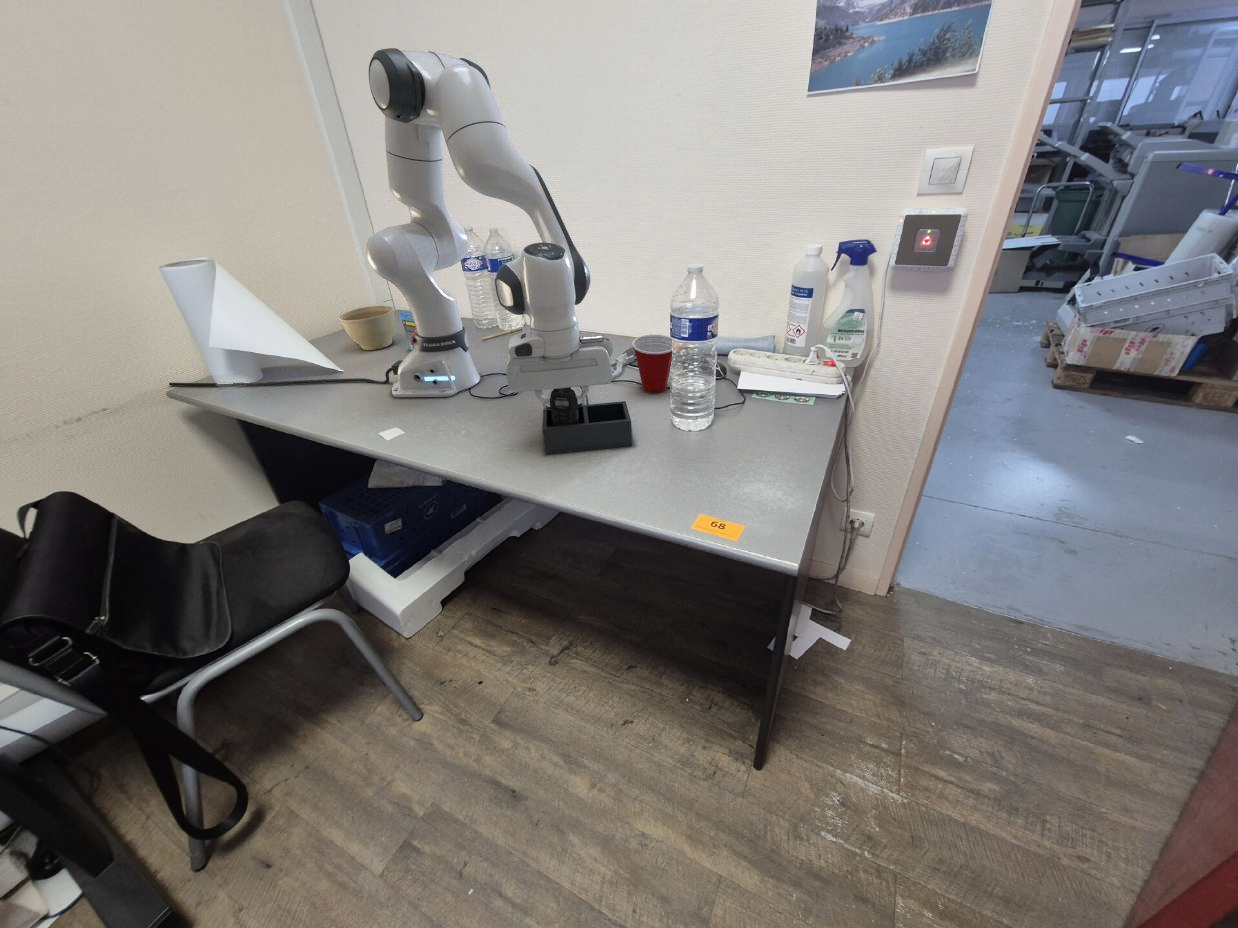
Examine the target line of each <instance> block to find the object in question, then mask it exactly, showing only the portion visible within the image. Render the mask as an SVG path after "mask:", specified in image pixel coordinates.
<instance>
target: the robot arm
mask: <svg viewBox="0 0 1238 928" xmlns="http://www.w3.org/2000/svg"><path fill="white" fill-rule="evenodd" d="M368 84H369V89H370V92H371V95H372V99H373V100H374V103H375V105H376V106H377V108H378V109H379V111H380V112H381V113H382V115H384V144H385V145H384V146H385V147H384V148H385V158H386V169H387V180H388V187H389V190H390V192H391V194H392V195H393V197H394V198H396V200H397V201H398V202H400V203H401V204H403V205H404V206H406V207H407V209H408V212H409V217H410V221H409V222H408V223H402V224H398V225H393V226H387V227H385V228H383V229H380V230H378V231H377V232H374V233H372V234H371V235H369V236H368V238H367V240H366V244H365V255H366V259H367V262H368V264H369V266H370V267H371V268H372V270H373V271H374V272H375V273H376V274H377V275H378V276H379V277H381V278H382V279H384V280H386V281H388V282H389V283H390V284H392V285H394V287H396V288H397V290H398V291H399V292H400V293H401V295H402V296H403V297H404V299H405V301H406V302H407V304H408V307H409V310H410V313H412V316H413V318H412V319H414V322H415V326H416V329H417V330H415V331H414V332H413V334H412V335H413V336H412V337H411V341H410V342H411V345H413V347H414V349H413V350H410V352H409V353H408V354H407V355H406V356H405V358H404V359H398V360H397V361H396V362H395V363H393V364H391V366H390V367H389V368H388V369H387V370H386V371H385V375H384V376H385V380H383V381H378V380H374V379H370V378H365V377H364V378H361V377H359V378H358V377H357V378H356V377H355V378H323V379H299V380H273V381H249V382H250V383H244V382H232V383H233V384H217V383H218V382H168V385H169V386H171V387H174V386H175V387H238V386H240V387H242V386H243V387H244V386H245V387H246V386H270V385H271V386H272V385H295V384H318V383H319V384H321V383H350V382H351V383H352V382H362V383H363V382H365V383H369V384H377V385H385V384H388V383H389V382H390V373H391V372H392V374H393V375H394V376H397V380H396V381H395V382H394V384H393V385H392V387H391V394H392V396H393V397H394V398H448V397H452V396H453V395H455V394H457V393H459V392H462V391H464V390H467V389H469V388H472V387H474V386H475V385H477V384H478V383H479V382H480V380H481V375H480V374H479V372H478V370H477V367H476V366H475V364H474V361H473V359H472V356H471V353H470V350H469V349H470V343H469V338H468V333H467V331H466V329H465V326H464V325H463V322H462V318H461V313H460V309H459V303H458V299H457V298H456V296H455V295H454V294H453V293H452V292H451V291H449V290H447V289H445V288H442V287H441V286H440V285H439V284H438V282H437V280H436V278H435V275H434V272H437V271H440V270H441V271H442V270H445V269H448V268H451V267H453V266H455V265H456V264H458V263H460V262H461V261H462V260H464V259H465V258H466V256H467V255H468V252H469V251H468V250H469V242H468V237H467V234H466V232H465V230H464V228H463V227H462V226H461V225H460V224H459V223H458V222H457V221H456V220H455V219H454V218H453V216H452V214H451V211H450V210H449V206H448V204H447V200H446V199H447V198H446V194H445V179H444V155H443V153H444V152H443V141H442V140H443V139H442V137H444V141H445V145H446V147H447V151H448V153H449V156H450V159H451V162H452V164H453V166H454V169H455V171H456V173H457V175H458V177H459V178H460V179H461V180H462V182H463V183H465V185H466V186H468V187H469V188H470V189H472V191H475V192H477V193H479V194H481V195H483V196H486V197H489V198H493V199H497V200H501V201H504V202H507V203H510V204H512V205H514V206H516V207H518V208H519V209H521V210H523V211H524V212H525V213H526V215H528V216H529V218H530V220H531V221H532V223H533V225H534V228H535V229H536V232H537V234H538V236H539V238H540V240H541V242H535V243H534V242H533V243H530V244H528V245H526V246H525V247H523V249H522V250H521V253H520V256H519V257H517V258H515V259H512V260H510V261H508V262H505V263H503V264H501V266H500V267H499V268H498V270H497V273H496V276H495V278H494V287H495V293H496V297H497V300H498V303H499V305H500V306H501V307H502V308H503V309H505V310H506V311H508V312H509V313H510V314H512V315H516V316H523V315H527V316H528V318H529V329H527V330H525V331H524V330H523V331H522V332H520V333H517V334H514V335H513V336H511V338H510V339H509V341H508V345H507V351H508V358H507V362H506V384H507V388H508V391H510V392H511V393H513V394H517V393H525V392H535V393H534V394H535V396H536V398H537V400H539V401H540V402H541V403H542V407H543V409H544V410H548V409H551V406H550V397H546V396H545V394H544V391H546V390H547V391H548V390H554V389H560V388H567V387H569V388H570V387H571V388H579V387H580V388H581V393H580V395H579V394H577V395H576V397H577V402H578V407H579V406H585V405H586V402H585V399H586V397H587V395H588V393H589V391H590V387H589V386H602V385H609V384H611V383H612V381H613V380H614V378H613V372H612V367H613V366H611V362H612V361H611V359H610V358H611V357H612V356H613V352H614V349H613V342H612V340H611V339H610V338H608V337H606V336H604V335H601V334H599V335H596V336H594V335H593V336H580V327H579V319H578V316H577V313H576V309H575V308H576V306H578V305H580V304H581V303H582V302H583V301H584V299H585V297H586V296H587V294H588V293H589V289H590V286H591V273H590V270H589V268H588V265H587V263H586V261H585V260H584V258H583V257H582V255H581V254H580V252H579V250H578V249H577V247H576V246H575V244H574V242H573V240H572V237H571V236H570V233H569V231H568V230H567V227H566V225H565V222H564V220H563V218H562V216H561V215H560V212H559V209H558V208H557V205H556V204H555V201H554V199H553V197H552V195H551V193H550V191H549V189H548V187H547V185H546V182H545V180H544V179H543V177H542V175H541V174H540V171H538V169H537V168H536V167H535V166H533V165H532V164H530V163H529V162H528V161H526V160H525V158H524V157H523V156H522V154H521V153H520V152H519V150H518V149H517V148H516V146H515V144H514V143H513V141H512V138H511V137H510V134H509V131H508V128H507V125H506V123H505V120H504V117H503V115H502V112H501V108H500V107H499V104H498V102H497V100H496V98H495V96H494V94H493V91H492V86H491V83H490V81H489V78H488V75H487V73H486V72H485V70H484V69H483V67H482V66H480V65H478V64H477V63H475V62H474V61H472V60H470V59H467V58H464V57H459V58H458V57H455V56H452V55H448V54H445V53H441V52H436V51H431V50H430V51H421V50H400V49H399V48H396V47H389V48H382V49H378V50H377V51H375V52H374V53H373V54H372V57H371V59H370V61H369V65H368ZM442 135H443V136H442Z"/></svg>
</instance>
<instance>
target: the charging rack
mask: <svg viewBox="0 0 1238 928" xmlns="http://www.w3.org/2000/svg"><path fill="white" fill-rule="evenodd" d="M578 417H579V424H574V425H564V426H554V425H553V419H552V411H551V409H548V410H544V408H543V409H542V426H541V427H542V429H541V430H542V436H543V437H542V438H543V443H544V450H545V455H546V456H547V455H558V454H568V453H576V452H585V451H595V450H606V449H607V450H608V449H615V448H626V447H633V432H632V431H633V430H632V428H633V427H632V419H631V415H630V412H629V409H628V405H627V401H626V400H622V401H612V402H601V403H591V404H585V406H579V407H578Z"/></svg>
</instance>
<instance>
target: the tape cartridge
mask: <svg viewBox="0 0 1238 928" xmlns="http://www.w3.org/2000/svg"><path fill="white" fill-rule="evenodd" d="M398 312H399V316H400V320H401V322H402V325H403V329H404V332H405V335H406V339H407V343H408V346H409V350H410V351H412V350H413V349H414V347H413V345H411V342H410V341H411V337H412V336H413V335H412V334H413V332H414V331H415V330H417V329H416V326H415V322H414V319H413V316H412V313H411V312H406V311H400V310H398ZM409 317H411V318H409Z"/></svg>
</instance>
